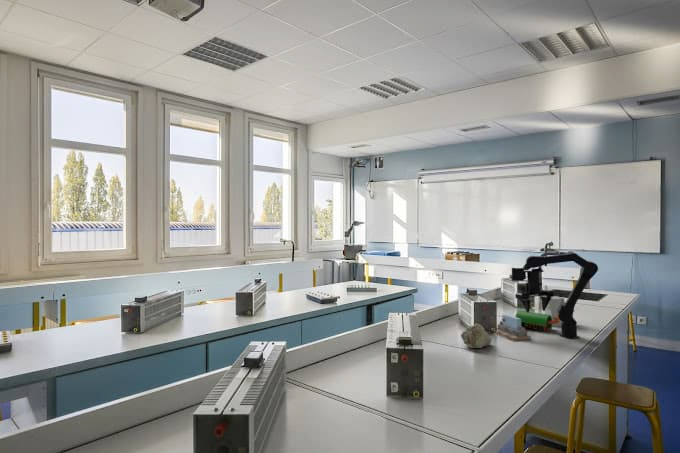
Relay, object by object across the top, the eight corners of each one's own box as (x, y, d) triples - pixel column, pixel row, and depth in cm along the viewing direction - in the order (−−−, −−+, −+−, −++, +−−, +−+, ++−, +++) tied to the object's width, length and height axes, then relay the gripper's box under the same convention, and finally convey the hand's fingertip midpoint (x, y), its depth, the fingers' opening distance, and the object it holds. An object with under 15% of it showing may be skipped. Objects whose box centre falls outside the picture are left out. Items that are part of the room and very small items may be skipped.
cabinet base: (530, 339, 196) (530, 327, 197) (512, 341, 194) (512, 329, 195) (506, 329, 216) (505, 319, 216) (489, 331, 214) (488, 320, 214)
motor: (514, 327, 218) (554, 333, 204) (515, 310, 219) (555, 315, 205) (521, 326, 225) (561, 332, 211) (522, 310, 226) (561, 315, 212)
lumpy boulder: (499, 351, 185) (478, 345, 177) (479, 354, 193) (457, 349, 186) (496, 326, 190) (475, 319, 183) (476, 331, 198) (455, 324, 191)
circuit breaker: (576, 325, 220) (575, 298, 220) (550, 326, 220) (549, 298, 221) (569, 322, 228) (568, 295, 228) (543, 323, 228) (542, 296, 228)
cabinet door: (521, 335, 199) (520, 318, 199) (515, 335, 198) (515, 319, 198) (506, 329, 211) (506, 314, 211) (501, 329, 210) (500, 314, 210)
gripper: (538, 278, 214) (540, 307, 214) (507, 280, 210) (509, 310, 210) (554, 280, 204) (556, 311, 203) (521, 283, 199) (523, 314, 199)
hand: (535, 311), depth 204 cm, fingers open, 9 cm apart
